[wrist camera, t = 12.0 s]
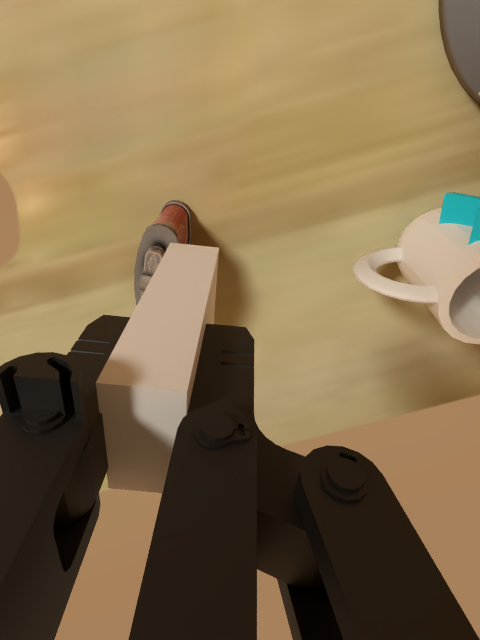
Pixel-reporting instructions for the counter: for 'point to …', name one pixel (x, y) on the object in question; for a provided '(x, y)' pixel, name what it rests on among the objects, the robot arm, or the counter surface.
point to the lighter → (161, 241)
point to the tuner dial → (462, 41)
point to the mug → (436, 266)
